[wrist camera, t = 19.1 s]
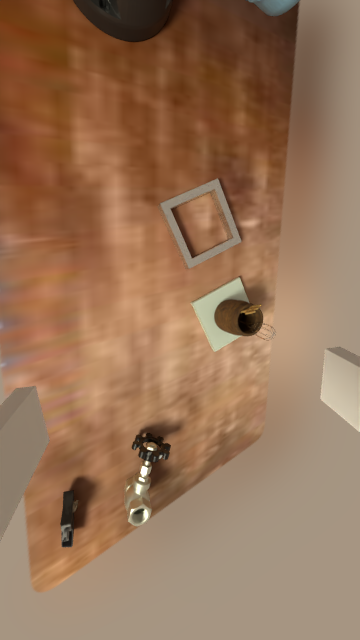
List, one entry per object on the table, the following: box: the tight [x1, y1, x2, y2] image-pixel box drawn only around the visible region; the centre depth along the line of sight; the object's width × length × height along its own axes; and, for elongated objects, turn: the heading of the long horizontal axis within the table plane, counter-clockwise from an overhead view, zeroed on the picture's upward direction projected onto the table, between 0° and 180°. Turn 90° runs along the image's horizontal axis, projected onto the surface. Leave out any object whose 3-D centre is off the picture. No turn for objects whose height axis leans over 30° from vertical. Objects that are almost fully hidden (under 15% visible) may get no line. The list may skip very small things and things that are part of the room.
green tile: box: [191, 277, 249, 352], centre depth 46 cm, size 10×10×1 cm
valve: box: [124, 433, 171, 526], centre depth 42 cm, size 7×7×12 cm
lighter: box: [61, 490, 78, 547], centre depth 40 cm, size 9×2×6 cm
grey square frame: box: [158, 179, 242, 269], centre depth 42 cm, size 11×11×2 cm
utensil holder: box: [214, 299, 275, 341], centre depth 40 cm, size 6×6×12 cm
